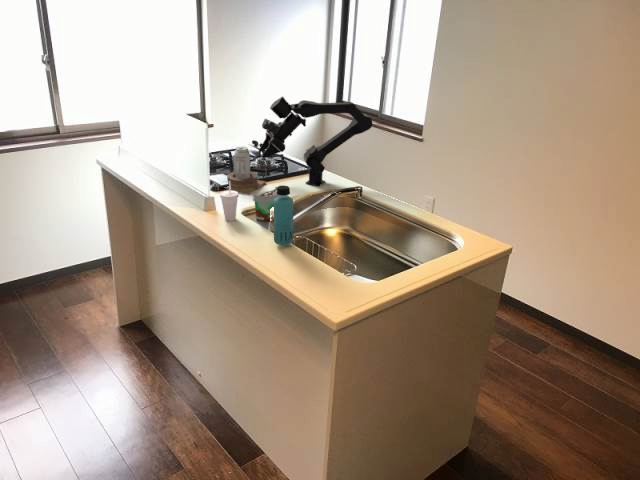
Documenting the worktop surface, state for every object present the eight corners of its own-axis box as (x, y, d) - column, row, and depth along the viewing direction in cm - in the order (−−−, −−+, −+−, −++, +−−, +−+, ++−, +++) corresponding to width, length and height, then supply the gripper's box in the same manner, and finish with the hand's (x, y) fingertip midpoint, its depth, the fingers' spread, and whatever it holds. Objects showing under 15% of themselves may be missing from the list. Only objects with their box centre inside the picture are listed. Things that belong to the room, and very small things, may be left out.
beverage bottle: (278, 251, 167) (277, 191, 158) (270, 242, 172) (269, 184, 164) (296, 247, 170) (297, 188, 161) (288, 239, 175) (288, 182, 167)
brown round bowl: (237, 178, 228) (236, 168, 226) (265, 183, 223) (265, 173, 221) (218, 188, 216) (218, 177, 214) (248, 194, 211) (248, 183, 209)
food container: (266, 226, 184) (266, 199, 180) (253, 221, 187) (252, 195, 183) (289, 215, 193) (289, 190, 189) (276, 211, 196) (276, 186, 192)
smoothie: (242, 217, 190) (241, 180, 184) (232, 223, 185) (231, 186, 179) (227, 213, 193) (226, 177, 187) (217, 220, 188) (215, 182, 181)
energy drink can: (253, 183, 220) (252, 148, 213) (243, 187, 215) (242, 151, 209) (243, 180, 223) (241, 145, 216) (232, 183, 219) (231, 148, 212)
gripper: (271, 107, 217) (244, 134, 220) (276, 117, 201) (248, 147, 204) (289, 126, 222) (264, 152, 225) (297, 137, 206) (269, 165, 208)
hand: (261, 153), depth 215 cm, fingers open, 9 cm apart
